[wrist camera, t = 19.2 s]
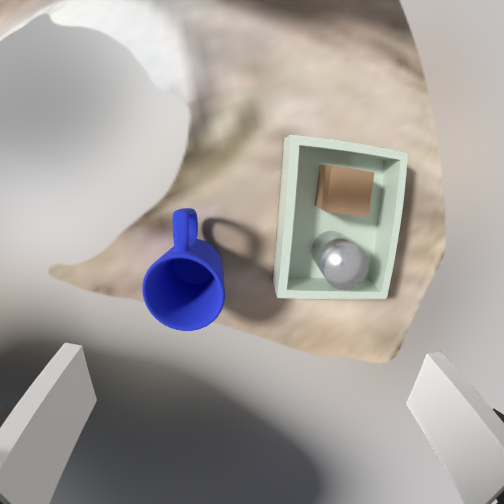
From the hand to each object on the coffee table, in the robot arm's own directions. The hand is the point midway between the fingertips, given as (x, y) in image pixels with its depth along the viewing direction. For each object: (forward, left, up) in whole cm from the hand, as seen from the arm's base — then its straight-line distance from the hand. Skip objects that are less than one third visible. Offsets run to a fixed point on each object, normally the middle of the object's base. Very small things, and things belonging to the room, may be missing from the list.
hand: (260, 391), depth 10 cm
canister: (+2, +11, -28) cm, 30 cm away
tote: (-2, +11, -29) cm, 31 cm away
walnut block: (-6, +11, -28) cm, 31 cm away
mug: (+3, -6, -29) cm, 30 cm away
